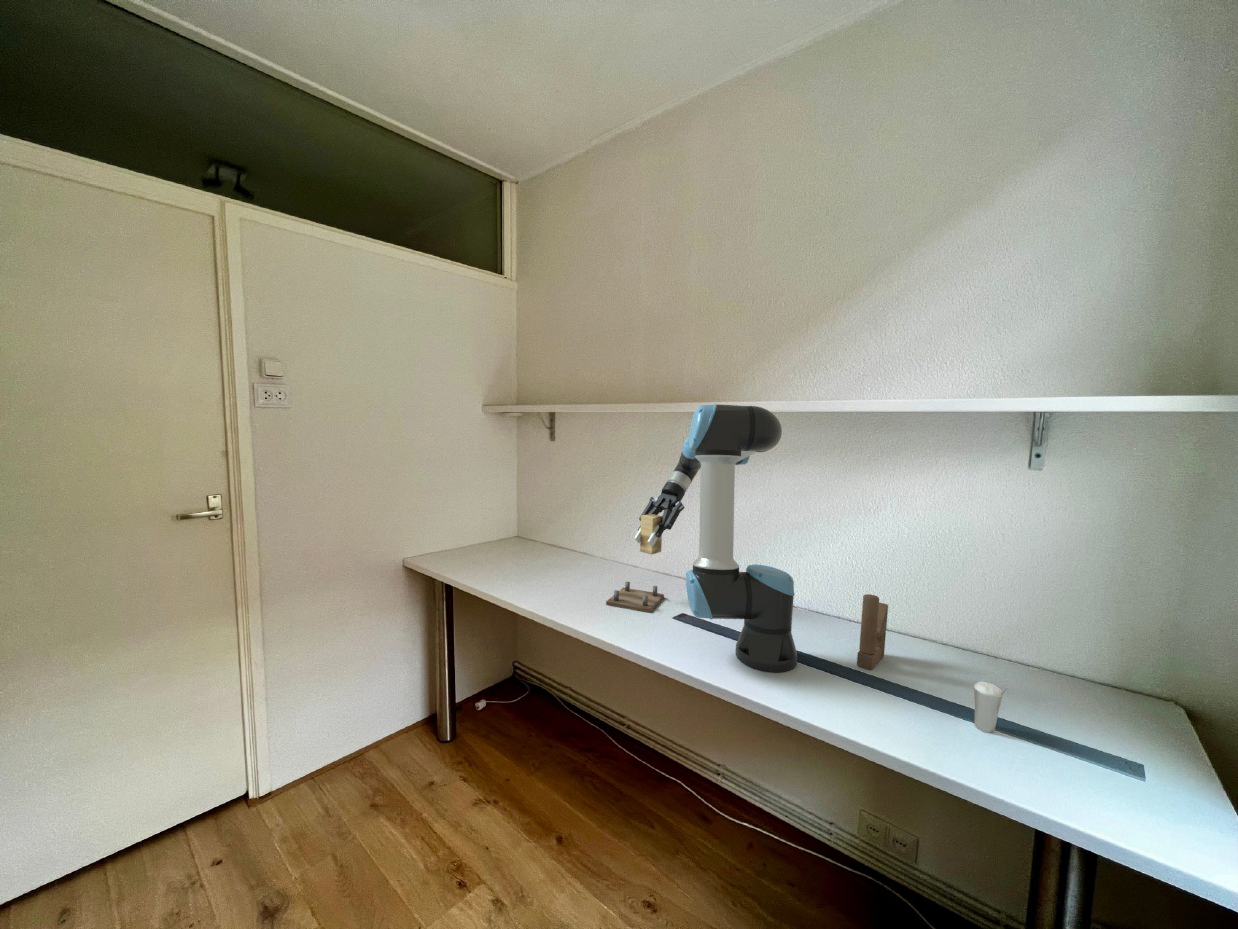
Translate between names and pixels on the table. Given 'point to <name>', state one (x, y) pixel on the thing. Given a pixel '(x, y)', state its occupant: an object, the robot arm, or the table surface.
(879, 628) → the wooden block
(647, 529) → the oak post
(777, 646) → the robot arm
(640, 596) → the peg plate
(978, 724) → the milkshake
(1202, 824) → the table surface
